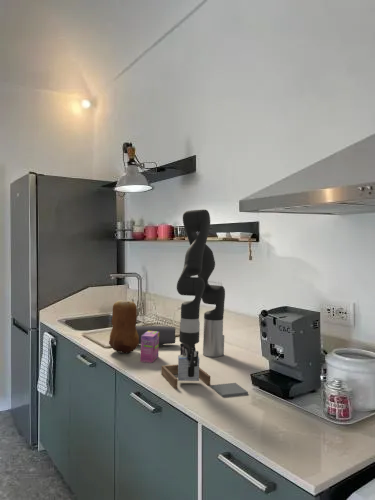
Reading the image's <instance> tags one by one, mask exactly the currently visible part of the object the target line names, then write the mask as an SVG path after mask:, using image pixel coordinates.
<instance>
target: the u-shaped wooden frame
mask: <svg viewBox="0 0 375 500" xmlns="http://www.w3.org/2000/svg"><path fill="white" fill-rule="evenodd" d="M160 373H161V374H160V375H161V376H162V377H163V378H164V379H165V381H167V382H168V384H169V385H170V386H172V388H173V389H174V390H177V389H178V377H176V376H175V375H178V363H177V364H166V365H161V371H160ZM199 380H201V382H202V383H204V385H206V386H208V387H209V386H211V375H210V374H209V373H207V372H206V371H205V370H204V369H203V368H201V367H200V366H199Z"/></svg>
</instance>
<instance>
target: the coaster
mask: <svg viewBox="0 0 375 500" xmlns="http://www.w3.org/2000/svg"><path fill="white" fill-rule="evenodd" d="M210 388H211V389H212V390H214V392H216V393H218V395H219V396H221V397H222V398H225V397H228V398H229V397H235V396H236V397H237V396H243V395H244V396H245V395H249V391H248V390H246V389H244V388H243V387H242V386H240V385H239V384H238V383H236V382H232V383H221V384H219V383H218V384H210Z"/></svg>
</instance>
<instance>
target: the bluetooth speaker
mask: <svg viewBox="0 0 375 500" xmlns="http://www.w3.org/2000/svg"><path fill="white" fill-rule="evenodd" d="M136 330H137V333H138V336H139V344H138V345H141V336H142V335H143V334H144V333H146V332H147V331H157V332H159V347H164V345H171V344H176V326H165V325H136Z"/></svg>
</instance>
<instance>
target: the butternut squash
mask: <svg viewBox="0 0 375 500" xmlns="http://www.w3.org/2000/svg"><path fill="white" fill-rule="evenodd" d="M137 310H138V309H137V305H136V303H135V302H134V301H133V300H124V299H119V300H117V301H115V302H114V303H113V304H112V316H111V317H112V318H111V321H110V322H111V325H112V328H111V331H110V334H109V340H108V344H109V345H110V347H111V348H112V349H113V350H114V351H115V352H118V353H122V354H130V353H131V352H134V351H135V350H136V349H137V348H138V347H139V345H140V344H139V336H138V333H137V330H136V326H137V319H138V312H137Z"/></svg>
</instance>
